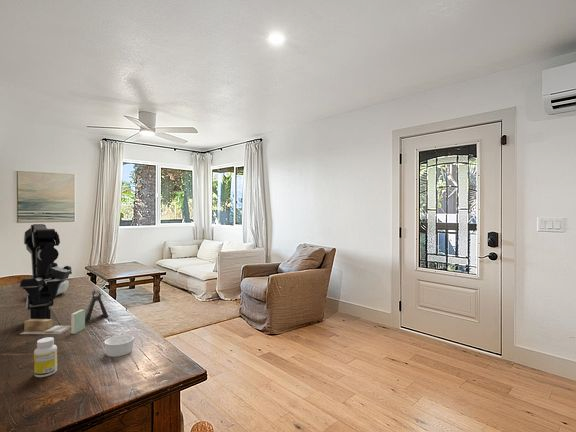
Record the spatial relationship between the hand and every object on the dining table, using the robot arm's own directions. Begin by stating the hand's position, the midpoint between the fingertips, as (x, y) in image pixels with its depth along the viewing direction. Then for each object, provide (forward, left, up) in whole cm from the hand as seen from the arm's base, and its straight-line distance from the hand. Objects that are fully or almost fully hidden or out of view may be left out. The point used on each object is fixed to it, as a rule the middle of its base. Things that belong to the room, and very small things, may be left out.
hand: (45, 301), depth 126 cm
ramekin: (+17, -38, -12) cm, 43 cm away
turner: (0, 0, -11) cm, 11 cm away
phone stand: (+18, +6, -12) cm, 23 cm away
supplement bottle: (-3, -40, -12) cm, 41 cm away
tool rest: (0, 0, -12) cm, 12 cm away
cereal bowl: (+7, +66, -12) cm, 68 cm away
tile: (+10, -8, -12) cm, 17 cm away
